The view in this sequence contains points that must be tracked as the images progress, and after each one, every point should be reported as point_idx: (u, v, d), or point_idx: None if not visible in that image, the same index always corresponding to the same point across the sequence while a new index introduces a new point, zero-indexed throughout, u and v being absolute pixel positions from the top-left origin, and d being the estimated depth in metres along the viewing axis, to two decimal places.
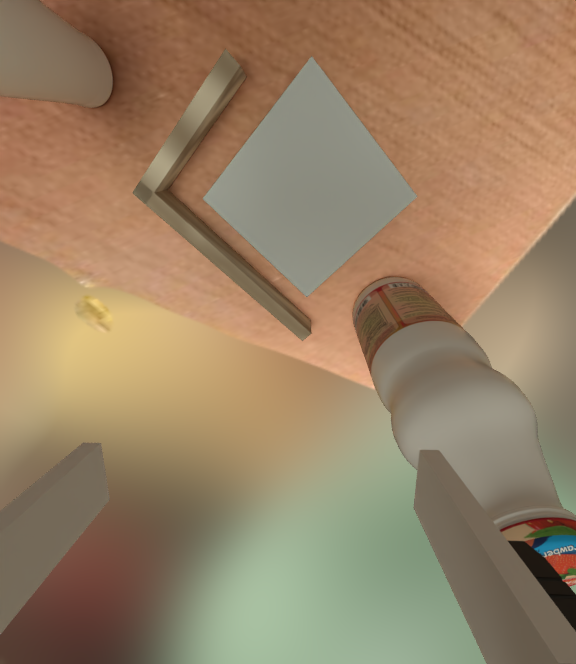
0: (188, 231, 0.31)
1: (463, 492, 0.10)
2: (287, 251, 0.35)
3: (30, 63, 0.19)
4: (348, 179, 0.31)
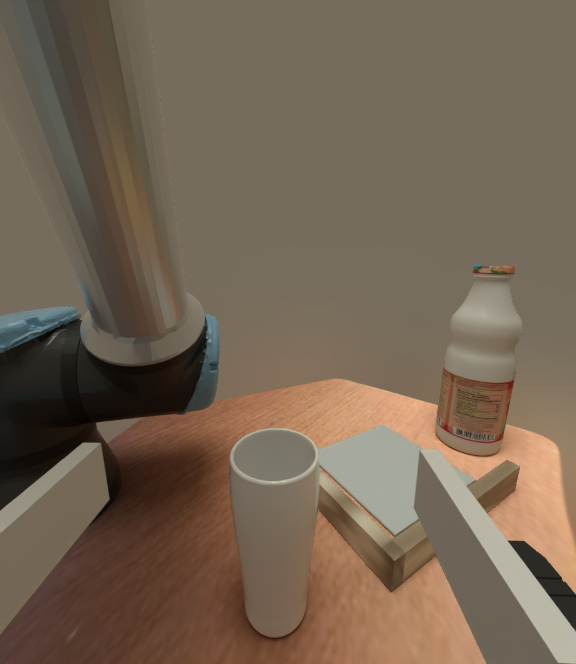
0: None
1: (463, 492, 0.10)
2: None
3: None
4: (373, 447, 0.47)
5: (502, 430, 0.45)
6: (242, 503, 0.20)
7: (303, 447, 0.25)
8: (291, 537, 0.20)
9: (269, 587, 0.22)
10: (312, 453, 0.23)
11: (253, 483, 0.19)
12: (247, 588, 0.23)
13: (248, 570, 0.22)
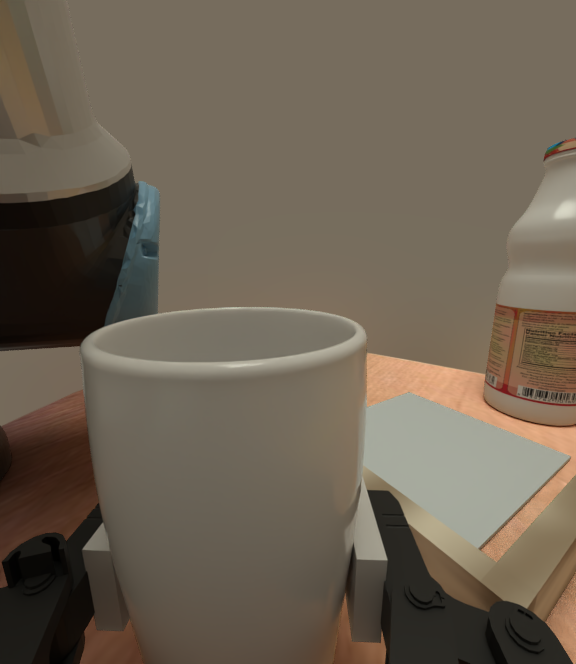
0: (552, 526, 0.15)
1: None
2: (510, 464, 0.25)
3: None
4: (404, 418, 0.32)
5: None
6: (103, 467, 0.05)
7: (313, 343, 0.10)
8: (285, 587, 0.06)
9: None
10: (339, 343, 0.09)
11: (127, 375, 0.05)
12: None
13: None
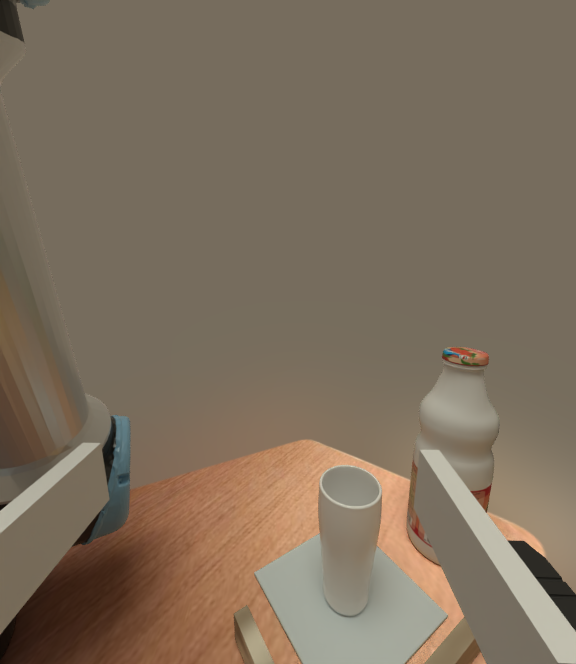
0: None
1: (463, 492, 0.10)
2: (397, 626, 0.32)
3: None
4: None
5: None
6: (335, 521, 0.30)
7: (365, 479, 0.35)
8: (367, 543, 0.31)
9: (350, 578, 0.32)
10: (374, 484, 0.33)
11: (344, 508, 0.30)
12: (331, 580, 0.33)
13: (335, 567, 0.32)
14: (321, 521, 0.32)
